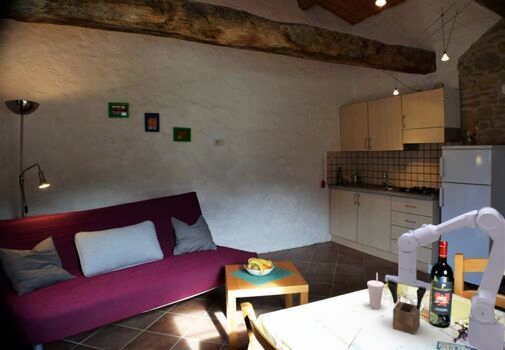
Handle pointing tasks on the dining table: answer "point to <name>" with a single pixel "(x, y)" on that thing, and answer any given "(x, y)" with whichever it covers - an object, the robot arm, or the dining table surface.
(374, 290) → the smoothie
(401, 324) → the box
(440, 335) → the dining table surface
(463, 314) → the dining table surface
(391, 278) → the robot arm
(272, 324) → the dining table surface
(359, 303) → the dining table surface
